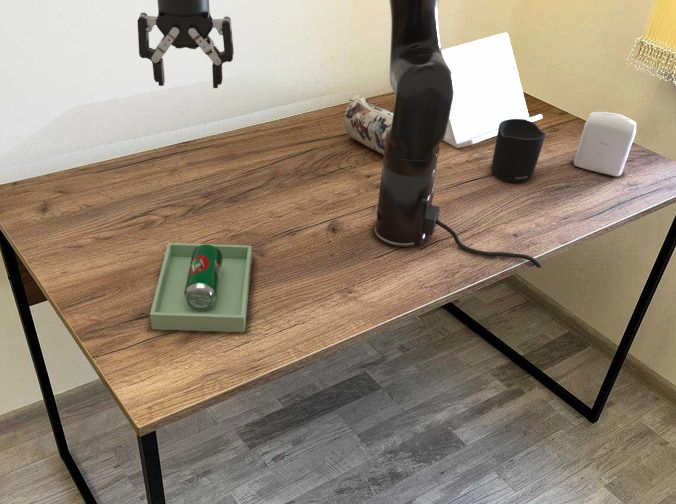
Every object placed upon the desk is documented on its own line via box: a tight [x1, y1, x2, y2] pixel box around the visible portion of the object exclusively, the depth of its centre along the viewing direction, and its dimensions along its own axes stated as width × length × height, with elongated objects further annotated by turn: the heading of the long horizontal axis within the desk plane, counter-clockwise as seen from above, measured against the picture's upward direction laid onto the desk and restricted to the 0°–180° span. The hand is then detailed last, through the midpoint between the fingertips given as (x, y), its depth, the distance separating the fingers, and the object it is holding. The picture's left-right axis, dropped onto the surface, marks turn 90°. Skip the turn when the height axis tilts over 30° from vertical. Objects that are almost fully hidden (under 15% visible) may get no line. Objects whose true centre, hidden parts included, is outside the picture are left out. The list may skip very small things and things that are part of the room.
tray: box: [149, 242, 253, 333], centre depth 120 cm, size 19×14×3 cm
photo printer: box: [573, 111, 637, 177], centre depth 156 cm, size 10×4×12 cm, turn 63°
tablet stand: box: [441, 32, 543, 149], centre depth 167 cm, size 18×25×17 cm
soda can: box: [184, 245, 223, 310], centre depth 119 cm, size 5×5×12 cm
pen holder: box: [491, 119, 547, 184], centre depth 153 cm, size 9×9×10 cm
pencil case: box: [343, 94, 394, 156], centre depth 157 cm, size 22×8×10 cm, turn 43°
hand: (189, 85), depth 118 cm, fingers open, 8 cm apart
